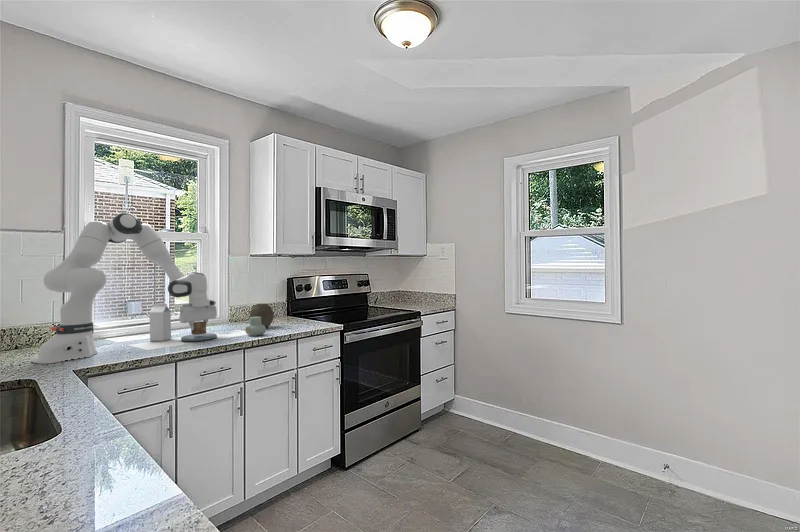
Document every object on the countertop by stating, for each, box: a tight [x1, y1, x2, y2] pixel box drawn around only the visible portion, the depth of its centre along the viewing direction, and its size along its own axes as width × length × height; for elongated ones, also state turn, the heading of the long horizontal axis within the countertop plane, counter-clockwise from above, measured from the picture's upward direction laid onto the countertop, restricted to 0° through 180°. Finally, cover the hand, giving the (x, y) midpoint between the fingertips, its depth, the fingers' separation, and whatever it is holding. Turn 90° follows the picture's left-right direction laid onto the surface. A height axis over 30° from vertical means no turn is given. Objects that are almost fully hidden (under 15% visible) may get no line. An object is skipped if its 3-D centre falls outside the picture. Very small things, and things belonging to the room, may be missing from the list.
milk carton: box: [148, 303, 172, 342], centre depth 223 cm, size 7×7×19 cm
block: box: [190, 320, 207, 335], centre depth 223 cm, size 5×5×6 cm
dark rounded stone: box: [249, 303, 275, 329], centre depth 257 cm, size 14×14×15 cm
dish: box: [180, 332, 217, 342], centre depth 223 cm, size 17×17×2 cm
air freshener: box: [245, 316, 267, 337], centre depth 232 cm, size 11×8×10 cm
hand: (198, 329), depth 223 cm, fingers closed on block, 5 cm apart
